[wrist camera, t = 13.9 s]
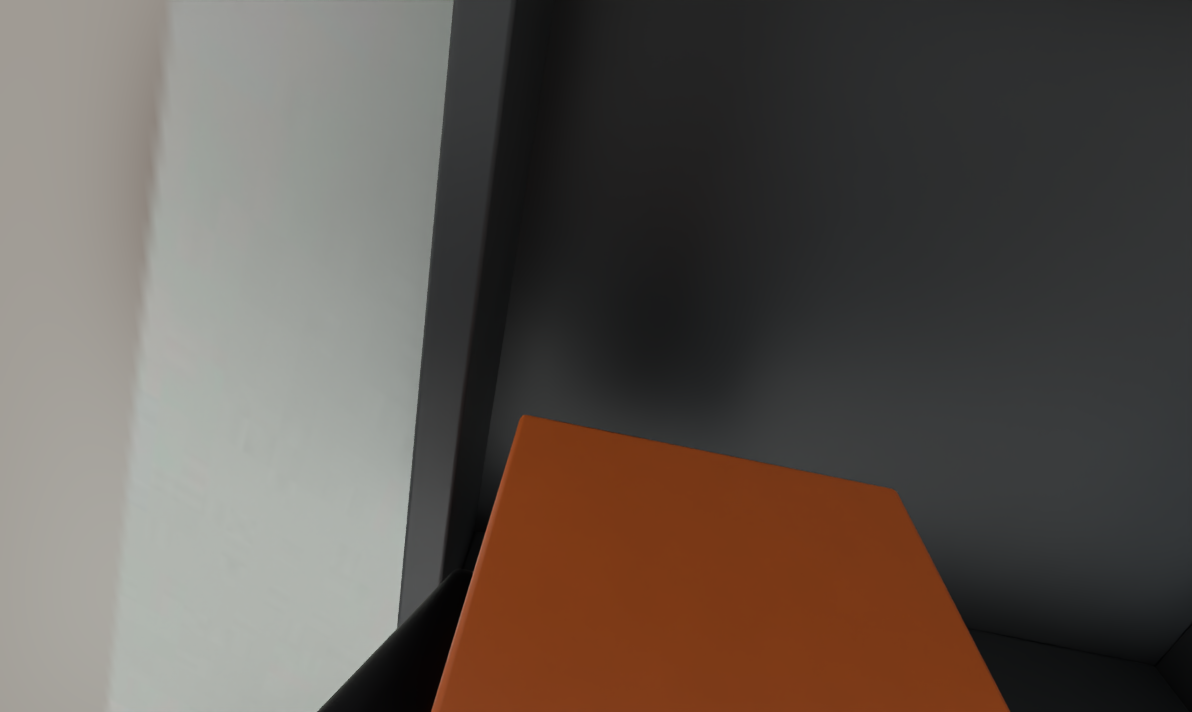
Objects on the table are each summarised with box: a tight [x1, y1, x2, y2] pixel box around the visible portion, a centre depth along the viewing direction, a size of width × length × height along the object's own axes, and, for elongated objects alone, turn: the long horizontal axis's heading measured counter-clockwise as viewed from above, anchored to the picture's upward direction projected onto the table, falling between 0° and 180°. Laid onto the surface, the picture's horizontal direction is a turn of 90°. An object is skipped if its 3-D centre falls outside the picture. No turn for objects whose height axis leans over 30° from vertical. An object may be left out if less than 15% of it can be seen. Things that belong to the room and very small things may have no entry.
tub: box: [397, 0, 1192, 712], centre depth 10 cm, size 15×13×4 cm
